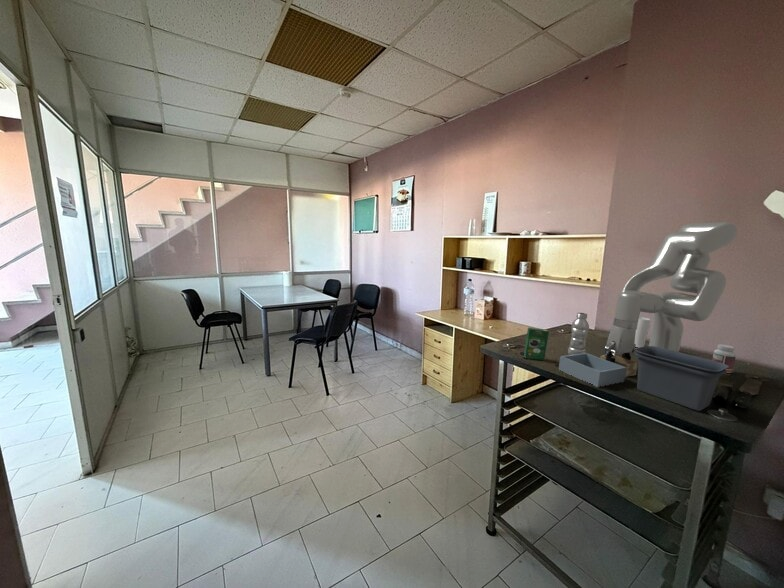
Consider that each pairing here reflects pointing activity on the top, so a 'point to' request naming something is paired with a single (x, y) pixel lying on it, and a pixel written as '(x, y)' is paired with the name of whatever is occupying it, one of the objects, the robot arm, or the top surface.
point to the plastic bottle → (578, 334)
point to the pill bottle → (725, 356)
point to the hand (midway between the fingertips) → (617, 365)
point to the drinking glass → (642, 331)
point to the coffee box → (536, 343)
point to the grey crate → (592, 369)
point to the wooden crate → (625, 365)
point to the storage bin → (678, 376)
